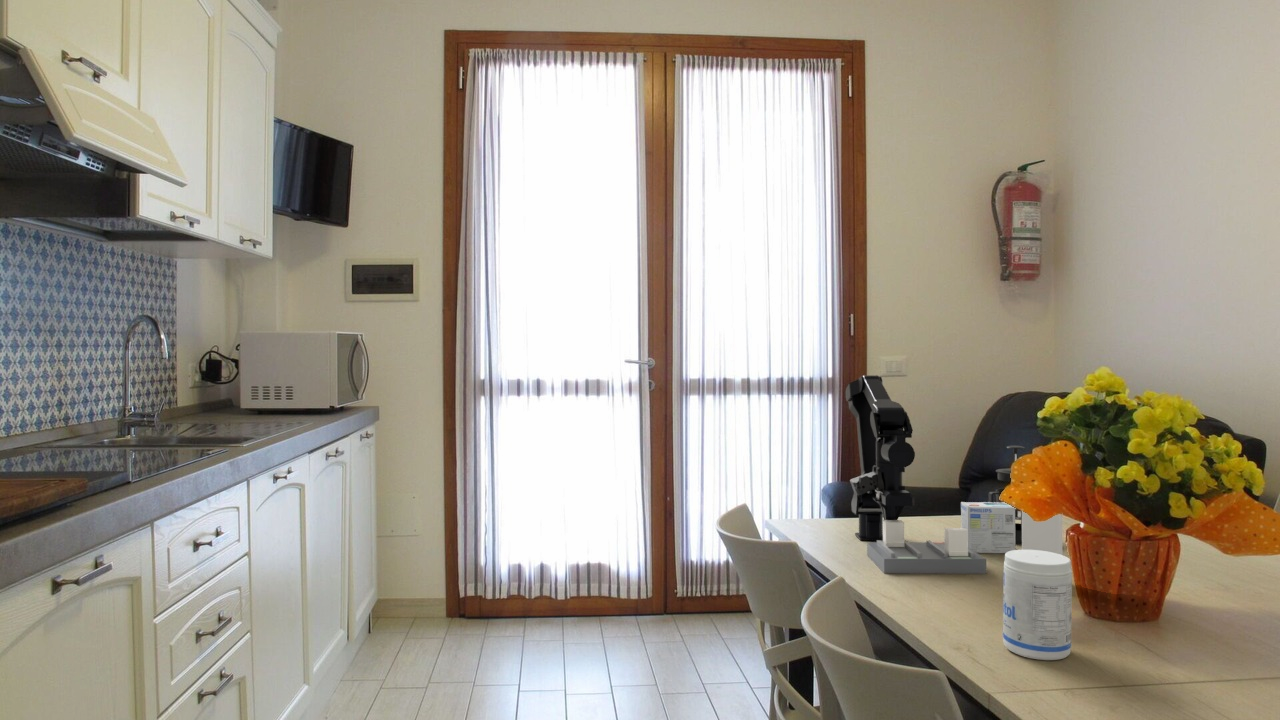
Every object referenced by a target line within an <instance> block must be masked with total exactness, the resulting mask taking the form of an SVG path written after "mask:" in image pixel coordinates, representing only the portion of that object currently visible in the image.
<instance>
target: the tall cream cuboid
mask: <svg viewBox="0 0 1280 720" xmlns="http://www.w3.org/2000/svg"><path fill="white" fill-rule="evenodd" d="M944 542H945V548H944V551H945V552H946V553H948V556H968V530H966V529H965V528H961V527H944Z"/></svg>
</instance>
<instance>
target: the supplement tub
mask: <svg viewBox="0 0 1280 720" xmlns="http://www.w3.org/2000/svg"><path fill="white" fill-rule="evenodd" d="M1002 587H1003V589H1002V590H1003V591H1002V592H1003V593H1002V594H1003V595H1002V596H1003V597H1002V601H1003V602H1002V608H1003V609H1002V643H1003V645H1004V647H1005V648H1006V649H1007V650H1008V651H1010V652H1012V653H1013V654H1016V655H1018V656H1021V657H1024V658H1027V659H1032V660H1038V661H1058V660H1062V659H1065V658H1067V657H1068V656H1069V655H1070V654H1071V653H1072V652H1071V651H1072V613H1073V612H1072V611H1073V610H1072V607H1073V606H1072V605H1073V604H1072V602H1073V594H1072V593H1073V591H1072V590H1073V568H1072V560H1071V559H1070V558H1069V557H1067V556H1065V555H1063V554H1062V555H1061V554H1057V553H1053V552H1048V551H1040V550H1022V549H1015V550H1012V551H1008V552H1007V553H1004V561H1003V586H1002Z"/></svg>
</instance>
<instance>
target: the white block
mask: <svg viewBox="0 0 1280 720" xmlns="http://www.w3.org/2000/svg"><path fill="white" fill-rule="evenodd" d="M904 540H905V522H904V521H903V520H902V519H898V520H884V519H883V540H882V542H883V543H884V544H885V545H886V546H887V547H905V543H904Z"/></svg>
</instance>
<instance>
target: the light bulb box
mask: <svg viewBox="0 0 1280 720" xmlns="http://www.w3.org/2000/svg"><path fill="white" fill-rule="evenodd" d="M1011 505H1012V504H1011ZM1011 505H1009V504H1007V503H1005V502H1004V501H1003V502H1001V501H1000V503H999V502H995V501H993V502H989V501H987V502H986V501H983V502H982V501H981V502H980V501H979V502H976V501H975V502H973V501H972V502H971V501H970V502H969V501H968V502H967V501H966V502H965V501H961V502H960V518H961V519H960V524H961V525H960V528H965V529H966V530H968V547H969V548H970V549H972V550H973V551H975V552H976V553H978V554H1006V553H1007V552H1008V551H1012V550H1016V544H1015V523H1016V519H1015V508H1014V507H1015V506H1014V507H1012V506H1013V505H1012V506H1011Z"/></svg>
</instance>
